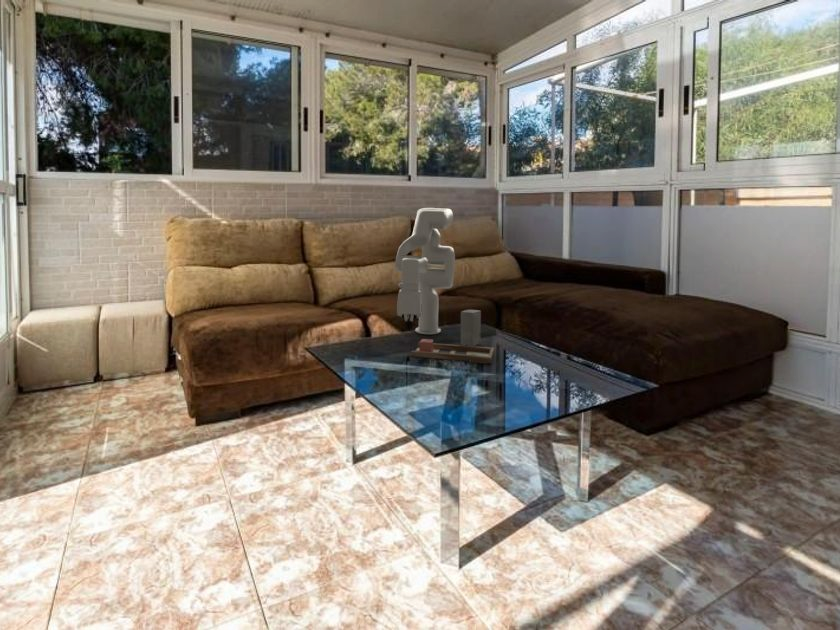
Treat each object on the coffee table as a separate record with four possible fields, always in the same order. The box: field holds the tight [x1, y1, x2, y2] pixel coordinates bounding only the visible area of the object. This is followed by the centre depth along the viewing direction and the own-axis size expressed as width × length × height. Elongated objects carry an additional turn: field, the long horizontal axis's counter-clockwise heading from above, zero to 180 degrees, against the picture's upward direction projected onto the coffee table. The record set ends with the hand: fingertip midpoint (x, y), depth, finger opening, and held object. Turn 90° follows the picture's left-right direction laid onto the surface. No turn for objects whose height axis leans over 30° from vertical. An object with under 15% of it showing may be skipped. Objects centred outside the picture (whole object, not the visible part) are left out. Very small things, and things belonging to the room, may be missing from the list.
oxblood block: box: [419, 338, 434, 352], centre depth 238 cm, size 5×5×5 cm
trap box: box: [410, 341, 495, 364], centre depth 236 cm, size 15×33×3 cm, turn 78°
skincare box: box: [460, 309, 482, 346], centre depth 252 cm, size 8×7×16 cm
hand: (409, 329), depth 237 cm, fingers closed
